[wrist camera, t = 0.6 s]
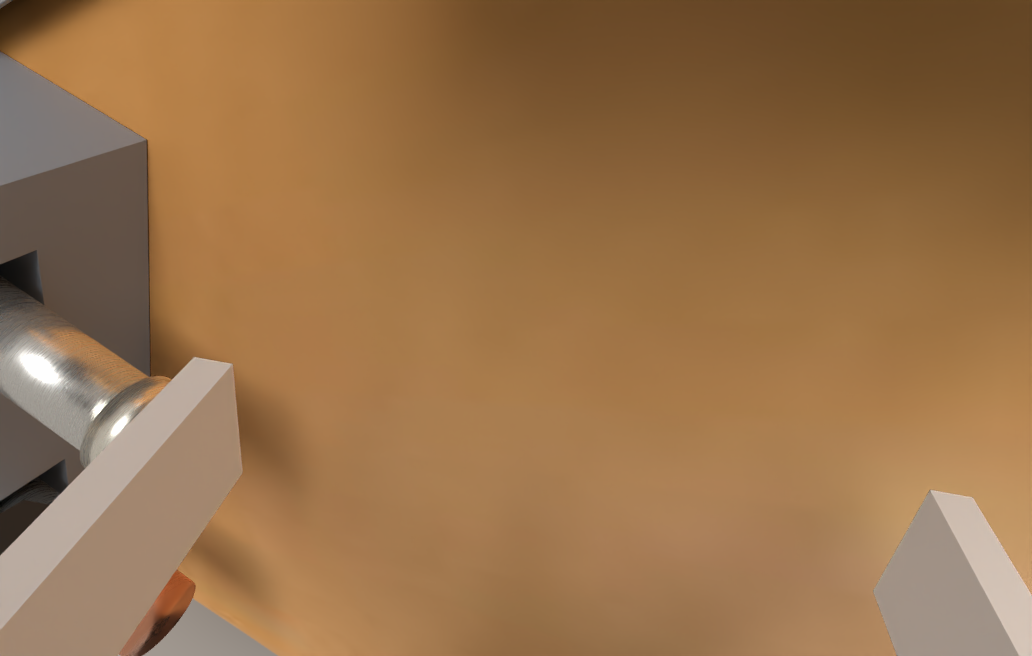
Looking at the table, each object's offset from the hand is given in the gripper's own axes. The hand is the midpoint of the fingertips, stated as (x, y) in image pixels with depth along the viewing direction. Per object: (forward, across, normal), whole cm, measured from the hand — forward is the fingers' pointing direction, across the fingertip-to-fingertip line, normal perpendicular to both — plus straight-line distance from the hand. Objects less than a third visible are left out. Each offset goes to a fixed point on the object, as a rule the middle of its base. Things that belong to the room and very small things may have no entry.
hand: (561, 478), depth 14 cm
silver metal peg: (+13, -19, -9) cm, 25 cm away
